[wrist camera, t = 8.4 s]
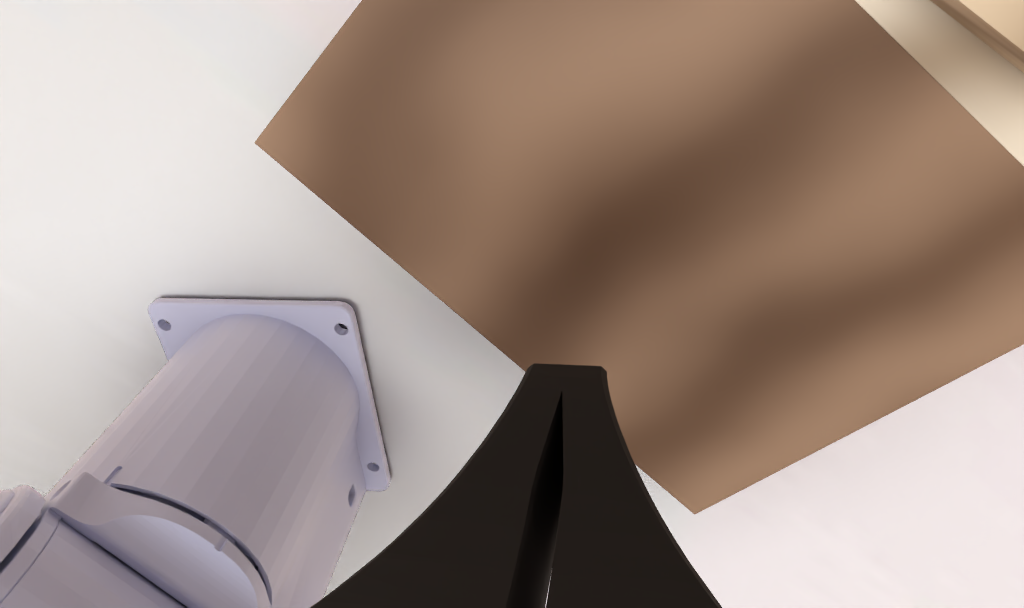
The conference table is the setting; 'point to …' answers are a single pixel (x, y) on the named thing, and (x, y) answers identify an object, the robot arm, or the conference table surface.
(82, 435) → the conference table surface
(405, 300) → the conference table surface
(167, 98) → the conference table surface
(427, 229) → the stool seat
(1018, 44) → the folding leg
